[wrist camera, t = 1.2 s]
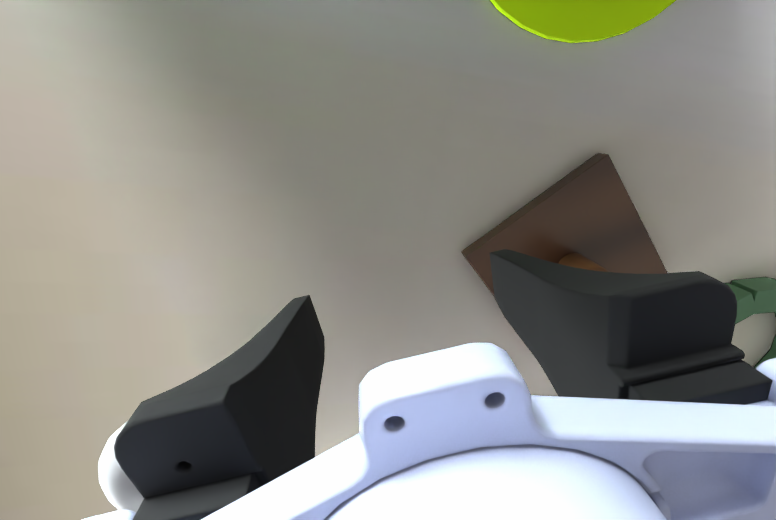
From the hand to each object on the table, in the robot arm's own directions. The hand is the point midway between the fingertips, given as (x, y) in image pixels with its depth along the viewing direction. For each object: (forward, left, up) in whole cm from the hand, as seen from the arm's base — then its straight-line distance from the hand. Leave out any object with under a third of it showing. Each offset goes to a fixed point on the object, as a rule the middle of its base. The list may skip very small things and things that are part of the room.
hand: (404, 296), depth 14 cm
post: (-9, -8, -9) cm, 15 cm away
